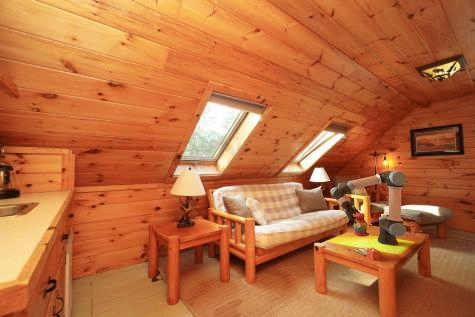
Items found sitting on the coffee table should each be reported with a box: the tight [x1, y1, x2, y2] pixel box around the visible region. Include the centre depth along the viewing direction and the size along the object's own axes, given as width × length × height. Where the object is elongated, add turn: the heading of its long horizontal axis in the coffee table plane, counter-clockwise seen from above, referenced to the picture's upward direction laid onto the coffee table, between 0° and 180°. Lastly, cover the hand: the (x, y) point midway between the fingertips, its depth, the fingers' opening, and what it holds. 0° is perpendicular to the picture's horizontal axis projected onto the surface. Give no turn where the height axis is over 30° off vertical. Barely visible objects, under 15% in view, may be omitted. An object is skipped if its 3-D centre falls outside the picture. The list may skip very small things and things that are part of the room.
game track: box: [351, 247, 382, 257], centre depth 178 cm, size 15×13×1 cm
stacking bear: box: [353, 212, 370, 238], centre depth 178 cm, size 11×10×18 cm
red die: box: [366, 247, 381, 261], centre depth 167 cm, size 6×6×6 cm
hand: (363, 226), depth 175 cm, fingers closed on stacking bear, 9 cm apart
